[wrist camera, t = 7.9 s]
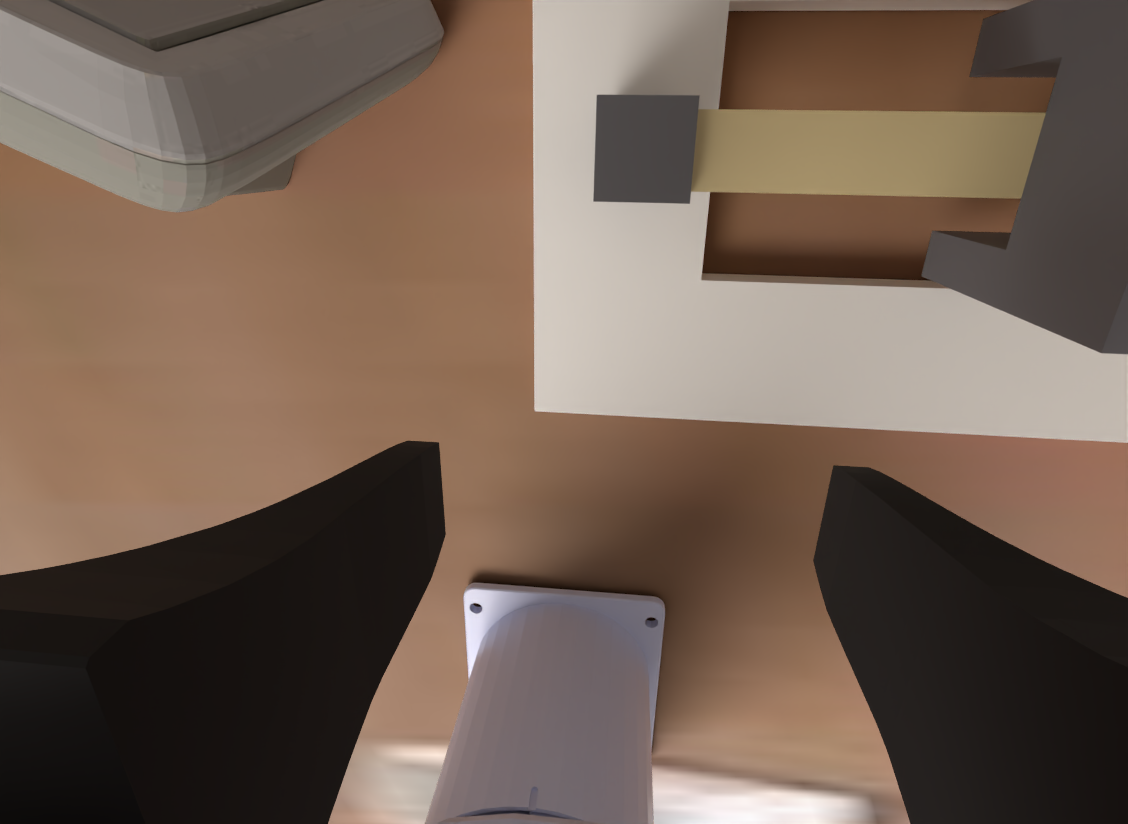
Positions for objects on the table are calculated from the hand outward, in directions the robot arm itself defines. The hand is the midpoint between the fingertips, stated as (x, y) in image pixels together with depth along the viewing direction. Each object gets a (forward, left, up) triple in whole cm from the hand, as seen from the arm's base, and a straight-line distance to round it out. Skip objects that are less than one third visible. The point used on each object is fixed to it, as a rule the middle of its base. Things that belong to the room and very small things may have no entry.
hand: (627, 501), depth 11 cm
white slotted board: (+5, -7, -10) cm, 13 cm away
